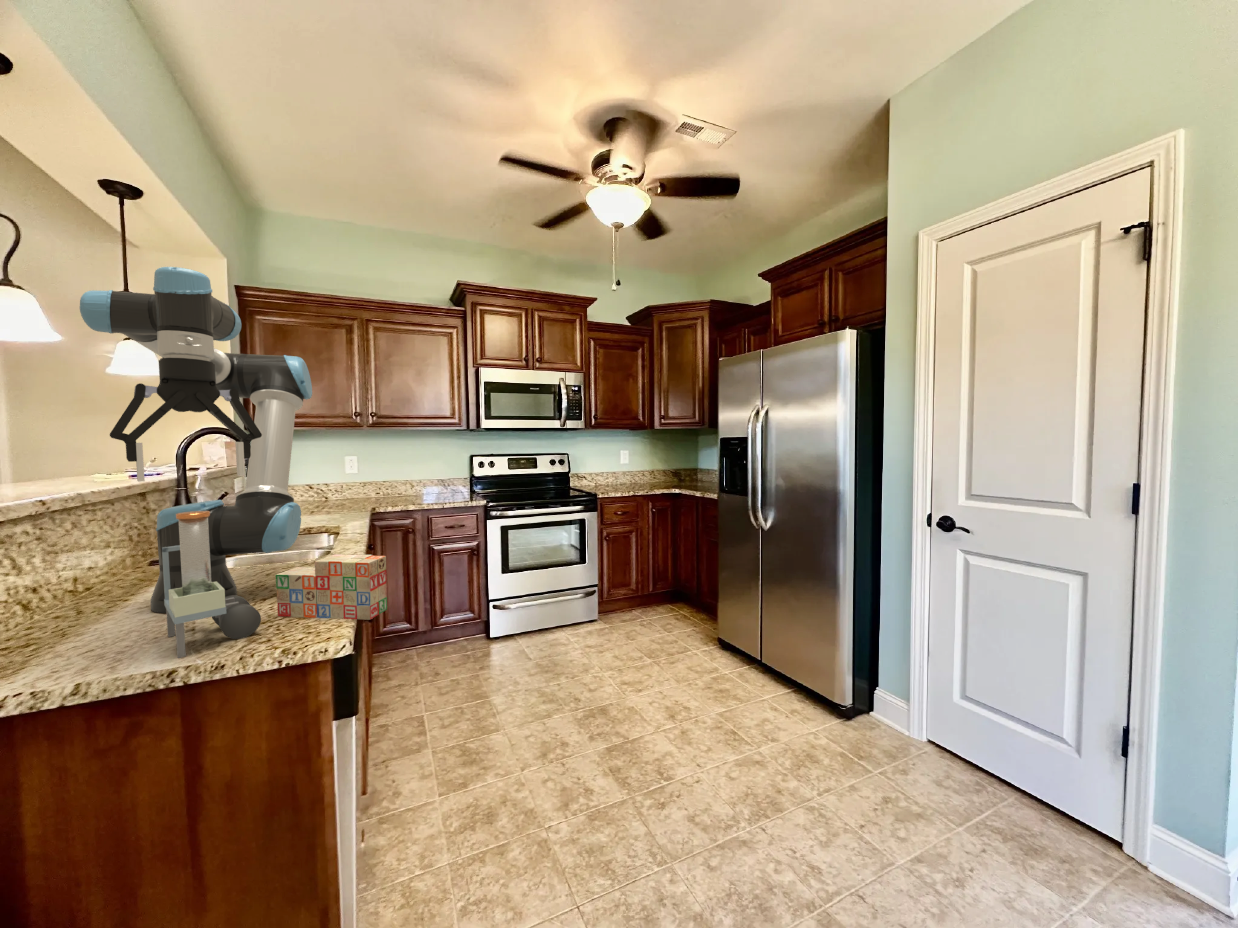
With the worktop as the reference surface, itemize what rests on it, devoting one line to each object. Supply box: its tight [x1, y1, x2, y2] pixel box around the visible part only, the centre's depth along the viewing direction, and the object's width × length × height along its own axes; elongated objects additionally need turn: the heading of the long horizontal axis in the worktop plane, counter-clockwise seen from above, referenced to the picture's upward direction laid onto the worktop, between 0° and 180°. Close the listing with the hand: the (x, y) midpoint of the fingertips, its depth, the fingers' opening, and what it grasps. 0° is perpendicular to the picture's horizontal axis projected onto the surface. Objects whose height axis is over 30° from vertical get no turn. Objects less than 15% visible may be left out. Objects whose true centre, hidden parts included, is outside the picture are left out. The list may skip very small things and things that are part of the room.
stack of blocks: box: [274, 554, 388, 621], centre depth 105 cm, size 21×6×12 cm, turn 84°
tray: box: [169, 581, 225, 618], centre depth 88 cm, size 8×7×3 cm
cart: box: [162, 545, 262, 659], centre depth 93 cm, size 15×12×17 cm
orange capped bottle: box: [176, 511, 212, 596], centre depth 88 cm, size 5×5×17 cm
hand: (193, 478), depth 87 cm, fingers open, 13 cm apart
